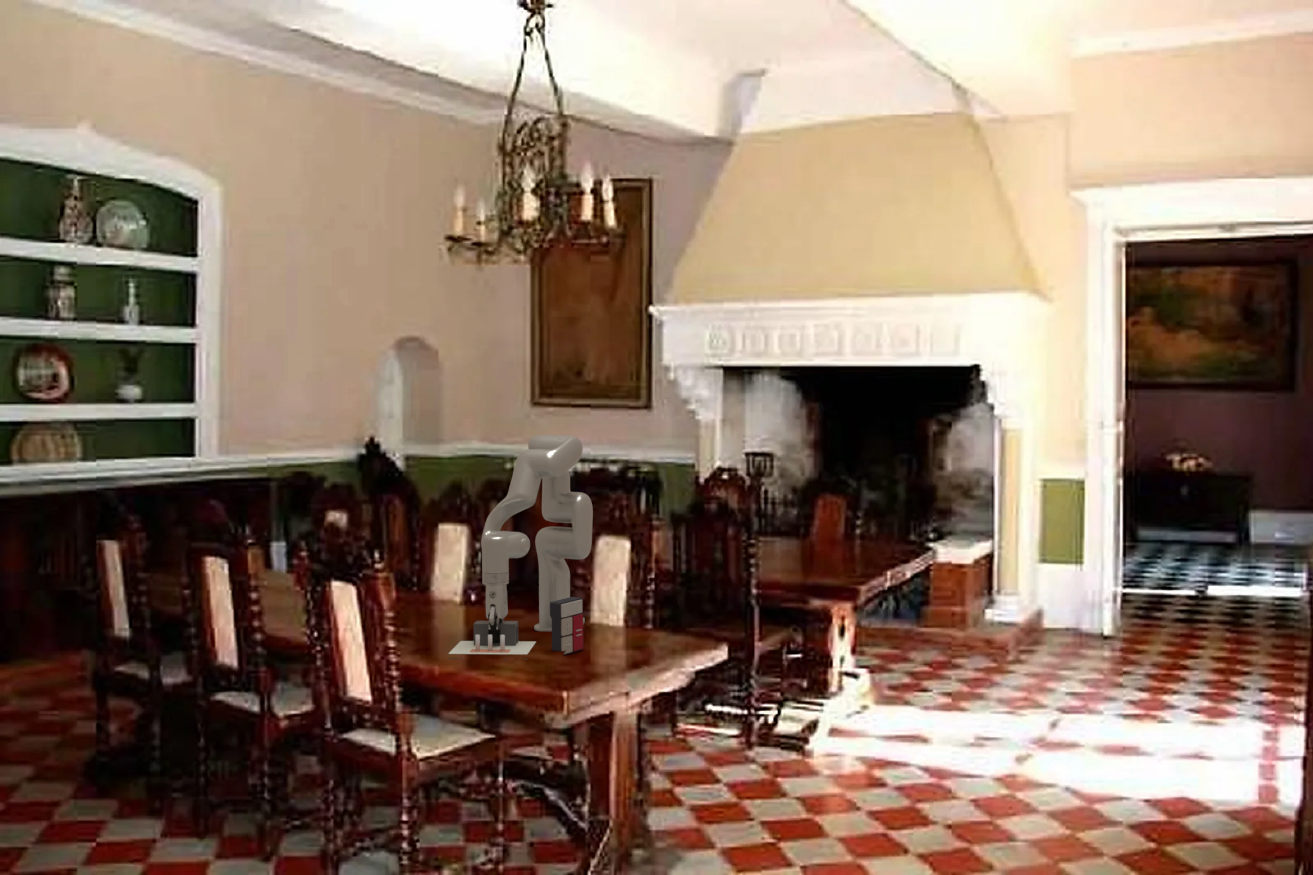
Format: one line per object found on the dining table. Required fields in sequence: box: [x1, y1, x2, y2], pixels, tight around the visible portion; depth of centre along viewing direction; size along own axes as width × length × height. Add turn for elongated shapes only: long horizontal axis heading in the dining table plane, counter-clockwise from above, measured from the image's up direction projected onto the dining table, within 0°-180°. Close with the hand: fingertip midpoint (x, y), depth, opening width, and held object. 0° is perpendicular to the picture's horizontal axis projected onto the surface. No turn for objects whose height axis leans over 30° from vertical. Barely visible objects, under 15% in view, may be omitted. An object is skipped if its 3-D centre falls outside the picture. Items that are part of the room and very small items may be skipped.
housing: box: [473, 620, 519, 646], centre depth 398 cm, size 12×5×6 cm, turn 87°
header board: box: [448, 635, 537, 661], centre depth 394 cm, size 22×18×6 cm
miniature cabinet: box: [550, 596, 584, 656], centre depth 393 cm, size 11×4×15 cm, turn 148°
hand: (496, 640), depth 399 cm, fingers open, 5 cm apart
